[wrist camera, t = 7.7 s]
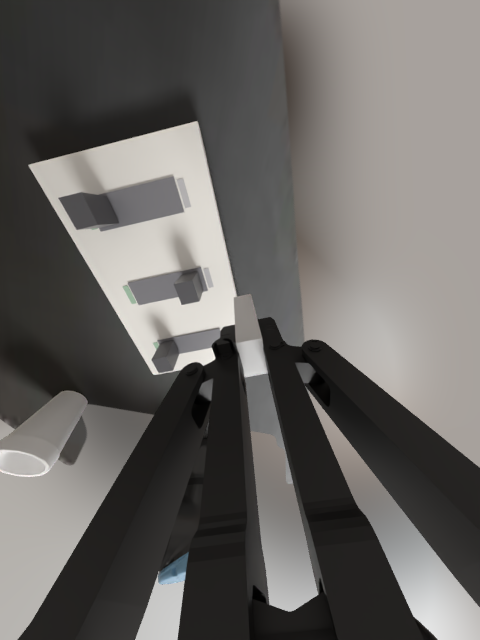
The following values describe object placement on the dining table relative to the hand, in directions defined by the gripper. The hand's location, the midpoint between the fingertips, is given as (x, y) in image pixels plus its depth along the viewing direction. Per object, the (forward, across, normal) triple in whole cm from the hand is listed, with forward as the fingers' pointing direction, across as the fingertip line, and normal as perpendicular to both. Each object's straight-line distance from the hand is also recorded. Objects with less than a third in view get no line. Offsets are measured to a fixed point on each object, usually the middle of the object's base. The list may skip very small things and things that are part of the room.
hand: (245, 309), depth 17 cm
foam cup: (+16, +44, +22) cm, 52 cm away
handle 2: (+13, +15, +11) cm, 23 cm away
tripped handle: (+13, +7, 0) cm, 15 cm away
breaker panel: (+16, +11, 0) cm, 20 cm away
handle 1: (+13, +15, -11) cm, 23 cm away
